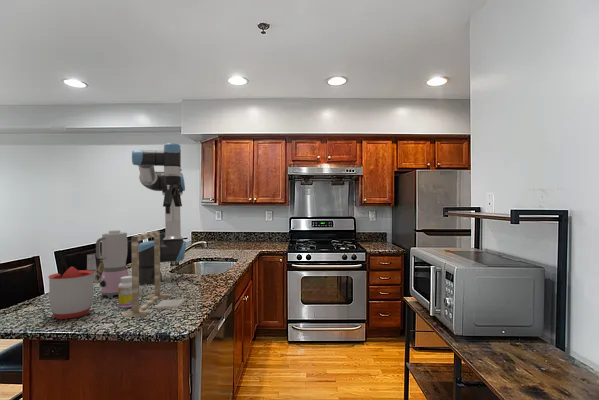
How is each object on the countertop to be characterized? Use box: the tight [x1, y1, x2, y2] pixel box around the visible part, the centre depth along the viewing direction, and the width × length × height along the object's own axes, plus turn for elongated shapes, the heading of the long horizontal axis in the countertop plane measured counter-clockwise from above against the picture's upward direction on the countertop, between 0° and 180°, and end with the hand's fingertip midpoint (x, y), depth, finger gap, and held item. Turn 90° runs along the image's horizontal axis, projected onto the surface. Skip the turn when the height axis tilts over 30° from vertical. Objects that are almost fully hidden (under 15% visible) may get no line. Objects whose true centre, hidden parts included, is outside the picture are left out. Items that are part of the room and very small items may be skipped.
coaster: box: [154, 298, 186, 309], centre depth 155 cm, size 10×10×1 cm
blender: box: [95, 229, 130, 299], centre depth 172 cm, size 16×12×32 cm
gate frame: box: [121, 230, 169, 318], centre depth 154 cm, size 30×9×32 cm, turn 4°
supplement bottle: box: [117, 275, 132, 309], centre depth 154 cm, size 7×7×13 cm
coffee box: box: [86, 252, 104, 283], centre depth 205 cm, size 9×6×16 cm
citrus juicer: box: [48, 266, 94, 320], centre depth 142 cm, size 16×17×20 cm
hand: (173, 220), depth 165 cm, fingers open, 13 cm apart
